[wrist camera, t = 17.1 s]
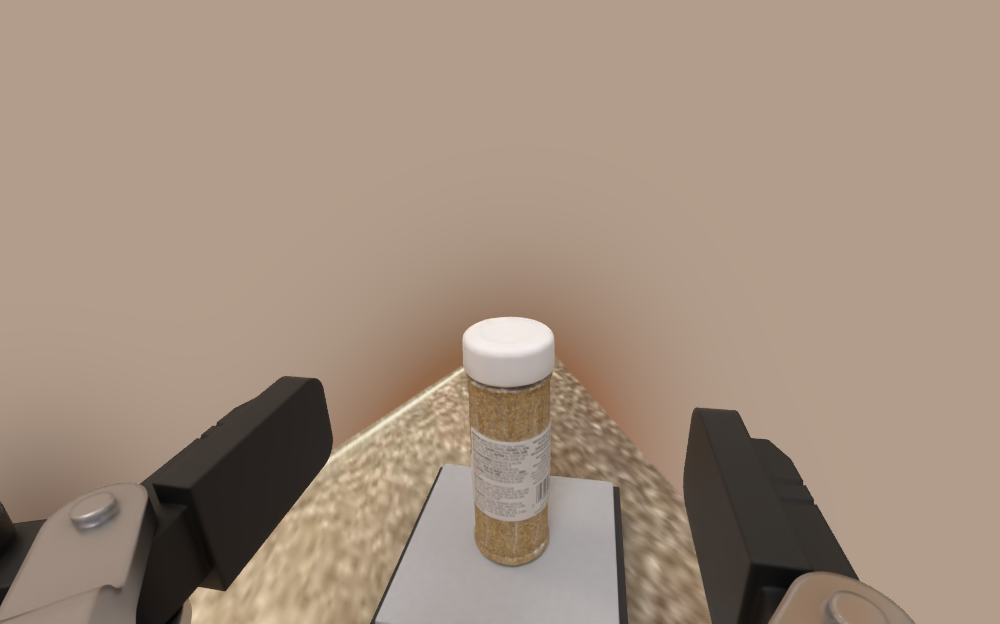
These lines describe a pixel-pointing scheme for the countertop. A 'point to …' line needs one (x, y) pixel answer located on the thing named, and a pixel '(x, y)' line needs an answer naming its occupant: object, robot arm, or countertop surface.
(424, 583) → the kitchen scale
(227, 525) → the robot arm
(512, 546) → the sprinkles bottle
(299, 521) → the countertop surface
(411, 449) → the countertop surface
